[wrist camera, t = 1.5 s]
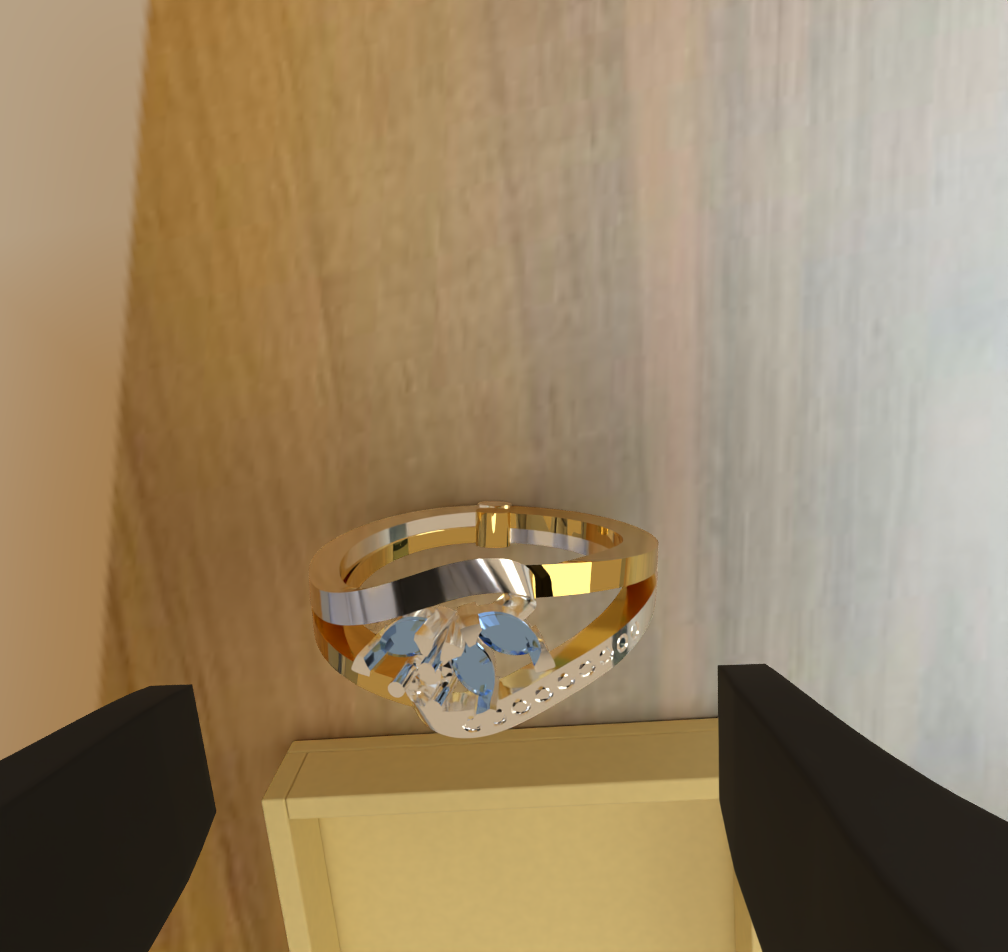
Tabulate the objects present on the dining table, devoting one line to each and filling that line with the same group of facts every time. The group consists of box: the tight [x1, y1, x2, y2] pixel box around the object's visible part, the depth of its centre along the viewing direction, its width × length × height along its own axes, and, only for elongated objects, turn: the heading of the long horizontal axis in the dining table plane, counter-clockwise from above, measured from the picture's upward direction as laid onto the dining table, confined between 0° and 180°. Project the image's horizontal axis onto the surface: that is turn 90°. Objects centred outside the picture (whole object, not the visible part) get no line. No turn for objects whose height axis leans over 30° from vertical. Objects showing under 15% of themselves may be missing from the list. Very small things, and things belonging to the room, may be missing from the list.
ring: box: [309, 501, 658, 738], centre depth 17 cm, size 7×3×8 cm, turn 90°
